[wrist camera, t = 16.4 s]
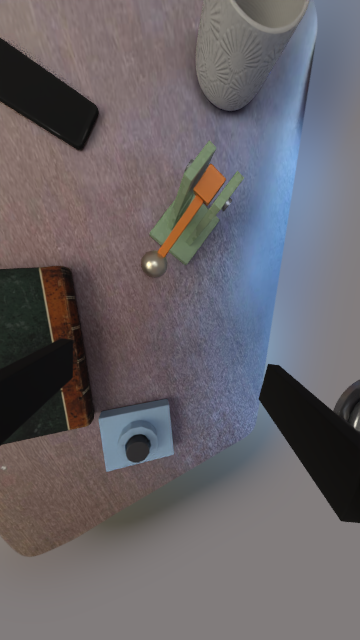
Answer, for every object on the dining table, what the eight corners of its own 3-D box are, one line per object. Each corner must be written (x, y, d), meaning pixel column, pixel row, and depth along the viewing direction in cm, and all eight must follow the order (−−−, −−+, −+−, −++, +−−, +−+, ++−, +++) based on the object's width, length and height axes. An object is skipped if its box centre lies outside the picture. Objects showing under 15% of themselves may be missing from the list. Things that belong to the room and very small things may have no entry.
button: (147, 431, 30) (148, 439, 29) (149, 450, 31) (150, 459, 29) (125, 436, 30) (124, 445, 28) (128, 456, 30) (127, 465, 28)
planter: (259, 123, 33) (315, 37, 22) (195, 122, 30) (223, 25, 20) (251, 42, 31) (308, -92, 20) (183, 35, 29) (207, -121, 18)
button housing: (167, 398, 34) (170, 410, 30) (172, 445, 36) (175, 463, 32) (101, 411, 32) (95, 426, 28) (108, 461, 33) (104, 482, 29)
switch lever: (159, 279, 27) (154, 286, 24) (140, 264, 27) (132, 269, 23) (226, 189, 22) (232, 182, 18) (204, 166, 21) (205, 155, 18)
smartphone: (79, 149, 27) (-37, 75, 23) (81, 153, 27) (-31, 83, 24) (99, 106, 27) (-14, 26, 23) (100, 112, 27) (-9, 35, 24)
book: (-60, 276, 26) (-21, 436, 28) (-92, 272, 22) (-43, 455, 25) (73, 269, 29) (96, 412, 32) (63, 265, 25) (90, 426, 28)
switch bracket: (185, 265, 33) (215, 240, 19) (149, 235, 31) (154, 184, 17) (217, 222, 33) (268, 168, 20) (183, 190, 31) (214, 106, 18)
